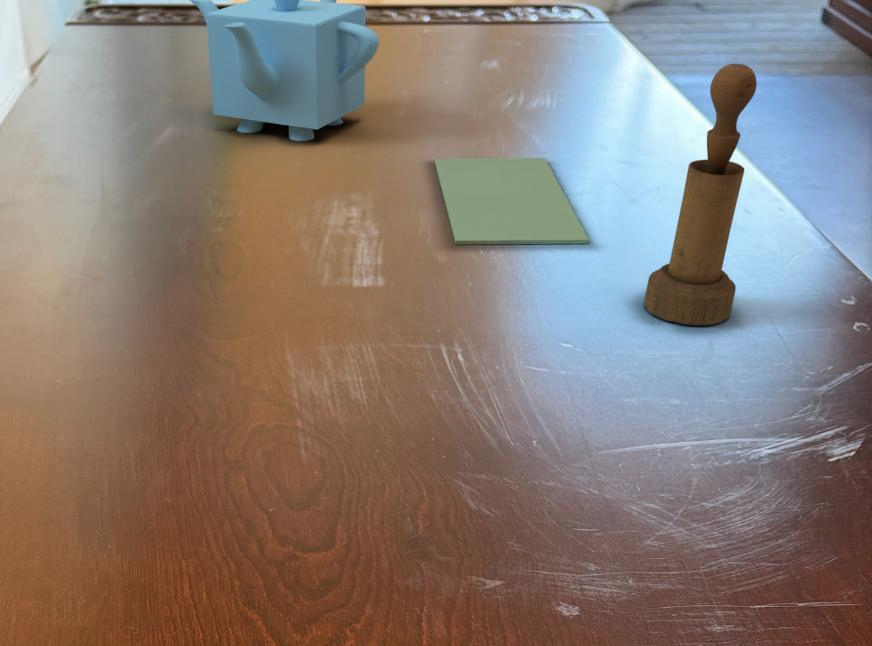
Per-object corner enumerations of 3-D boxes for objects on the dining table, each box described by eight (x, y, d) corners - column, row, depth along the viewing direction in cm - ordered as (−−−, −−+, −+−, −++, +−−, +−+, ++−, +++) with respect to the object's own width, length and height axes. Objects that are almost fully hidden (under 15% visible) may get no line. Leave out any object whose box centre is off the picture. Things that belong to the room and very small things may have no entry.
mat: (544, 161, 113) (545, 157, 113) (588, 243, 94) (589, 239, 93) (434, 162, 113) (434, 158, 113) (455, 244, 94) (455, 240, 93)
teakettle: (387, 140, 120) (391, -3, 111) (228, 154, 115) (219, 8, 106) (337, 99, 134) (338, -29, 125) (195, 111, 130) (184, -21, 121)
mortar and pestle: (735, 300, 84) (793, 59, 73) (723, 333, 79) (783, 80, 68) (652, 287, 86) (696, 51, 75) (635, 317, 81) (680, 71, 70)
